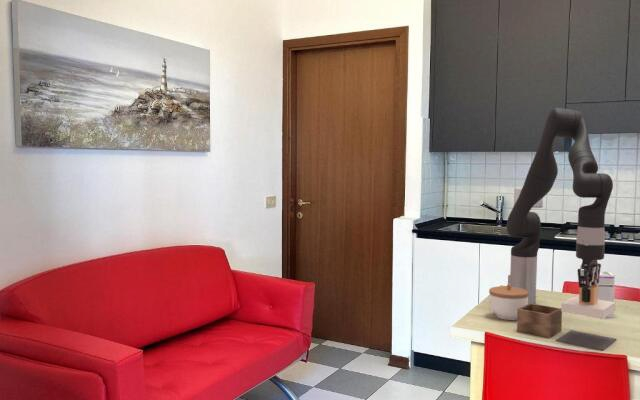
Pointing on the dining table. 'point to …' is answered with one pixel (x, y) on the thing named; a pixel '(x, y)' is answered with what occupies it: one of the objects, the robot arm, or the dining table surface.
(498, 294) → the lidded bowl
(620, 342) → the dining table surface
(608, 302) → the lid
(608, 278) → the syrup box
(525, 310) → the storage box
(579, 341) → the mat
